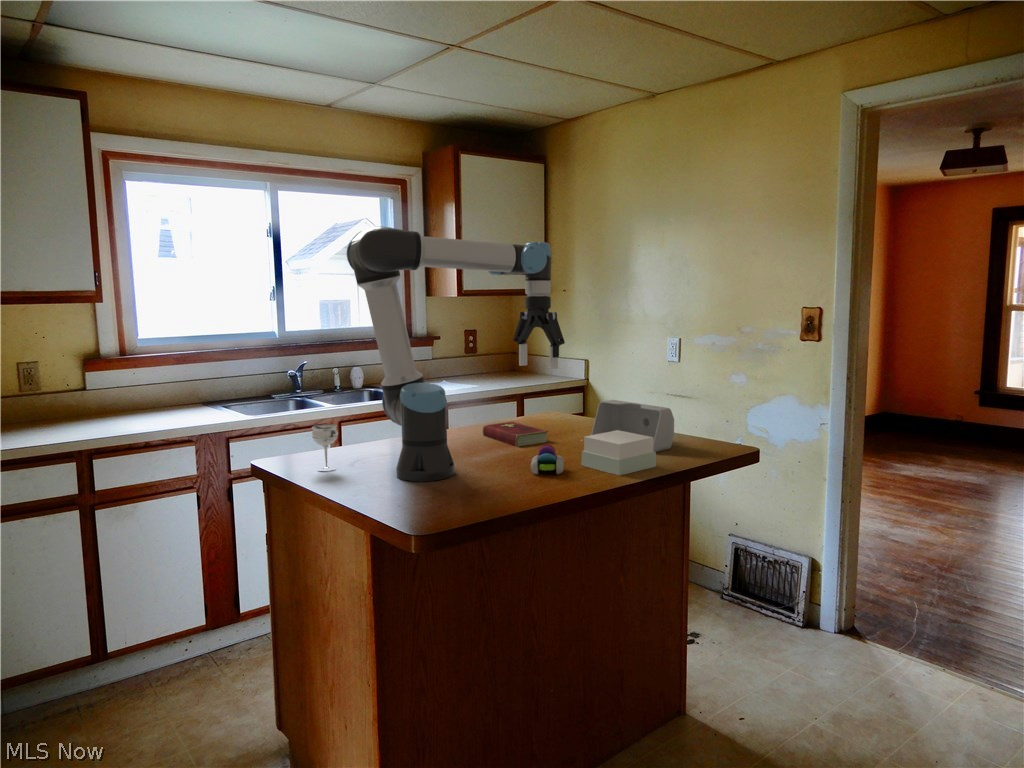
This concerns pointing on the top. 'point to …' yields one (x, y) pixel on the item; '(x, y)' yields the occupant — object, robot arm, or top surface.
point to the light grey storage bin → (636, 421)
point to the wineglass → (325, 436)
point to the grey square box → (618, 452)
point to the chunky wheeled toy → (547, 460)
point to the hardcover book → (515, 433)
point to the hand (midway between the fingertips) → (538, 367)
